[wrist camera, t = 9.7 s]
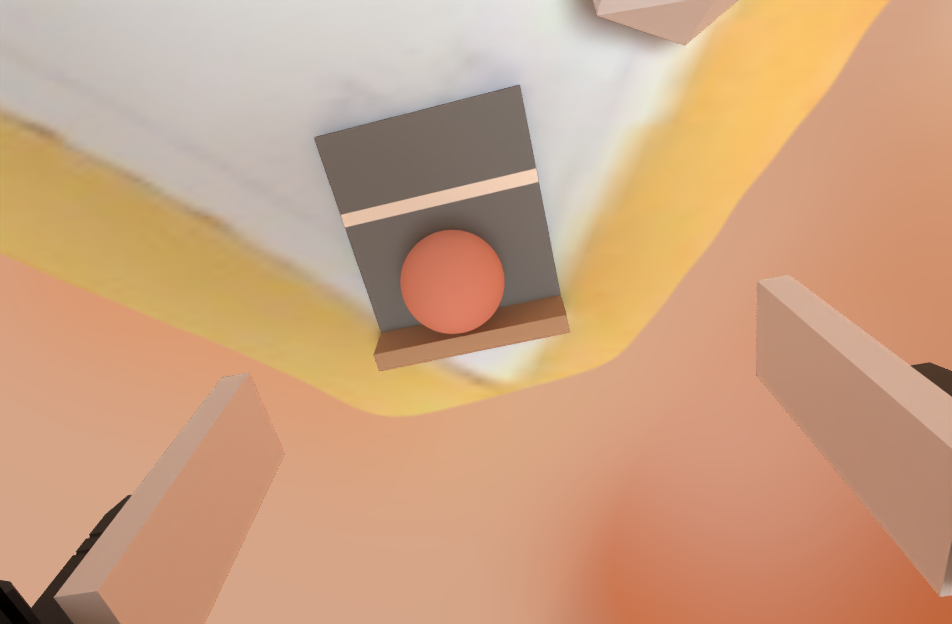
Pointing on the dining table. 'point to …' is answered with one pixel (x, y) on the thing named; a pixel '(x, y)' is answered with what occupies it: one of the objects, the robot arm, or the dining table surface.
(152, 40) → the dining table surface
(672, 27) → the die
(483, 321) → the ball
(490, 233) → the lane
